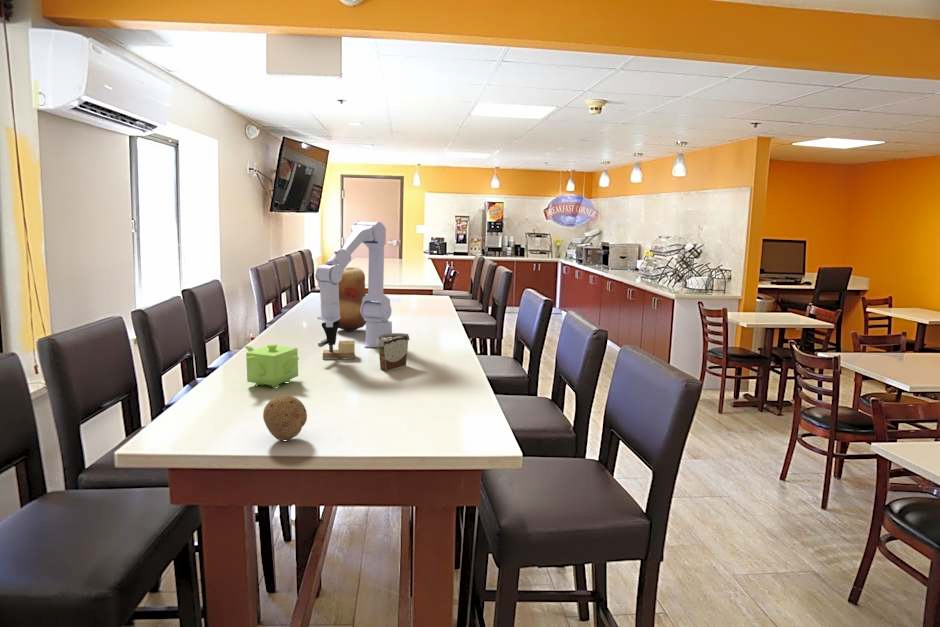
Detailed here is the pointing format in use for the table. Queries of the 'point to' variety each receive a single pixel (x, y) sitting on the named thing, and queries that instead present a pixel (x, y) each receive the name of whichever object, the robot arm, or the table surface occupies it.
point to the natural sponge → (284, 417)
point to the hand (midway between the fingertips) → (331, 344)
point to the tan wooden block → (346, 347)
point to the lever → (323, 343)
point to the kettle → (271, 364)
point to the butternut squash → (351, 299)
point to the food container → (392, 350)
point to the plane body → (336, 354)
